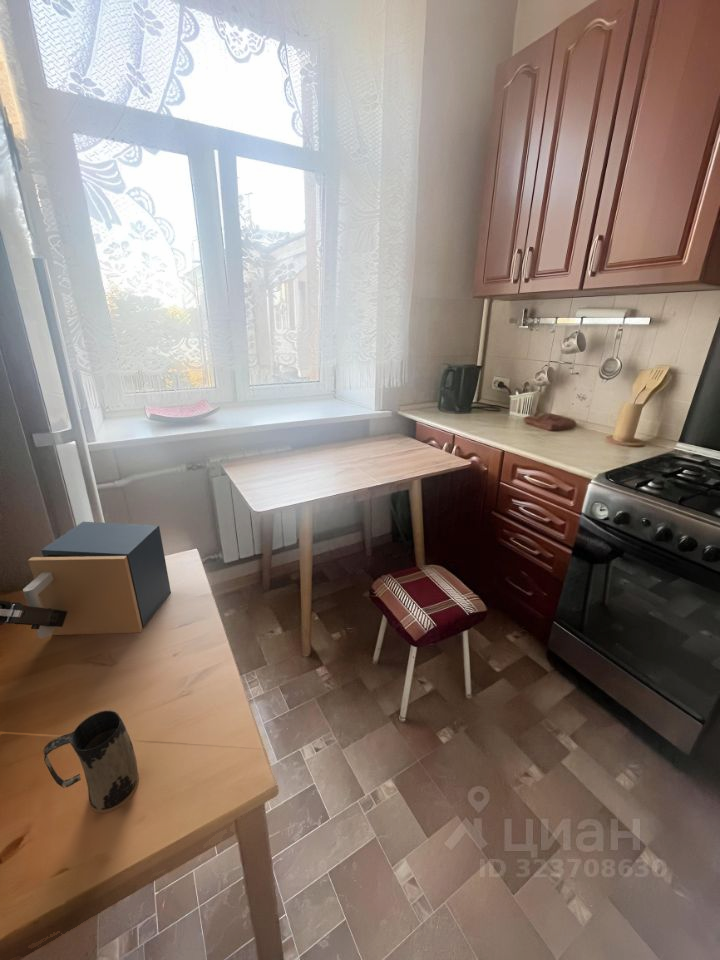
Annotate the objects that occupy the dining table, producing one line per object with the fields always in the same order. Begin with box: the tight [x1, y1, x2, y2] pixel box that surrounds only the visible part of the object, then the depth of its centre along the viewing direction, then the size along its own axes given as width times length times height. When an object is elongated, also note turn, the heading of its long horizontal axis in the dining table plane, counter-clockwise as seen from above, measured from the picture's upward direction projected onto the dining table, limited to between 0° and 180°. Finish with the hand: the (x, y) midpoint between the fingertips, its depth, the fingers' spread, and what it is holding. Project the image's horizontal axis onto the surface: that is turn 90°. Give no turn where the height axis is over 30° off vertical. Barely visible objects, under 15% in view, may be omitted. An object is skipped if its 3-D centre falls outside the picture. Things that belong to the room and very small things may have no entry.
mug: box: [43, 710, 140, 814], centre depth 48 cm, size 8×6×12 cm
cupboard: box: [41, 521, 172, 629], centre depth 79 cm, size 11×16×17 cm
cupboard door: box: [22, 556, 144, 639], centre depth 70 cm, size 6×16×17 cm, turn 95°
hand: (55, 618), depth 71 cm, fingers closed on cupboard door, 2 cm apart
